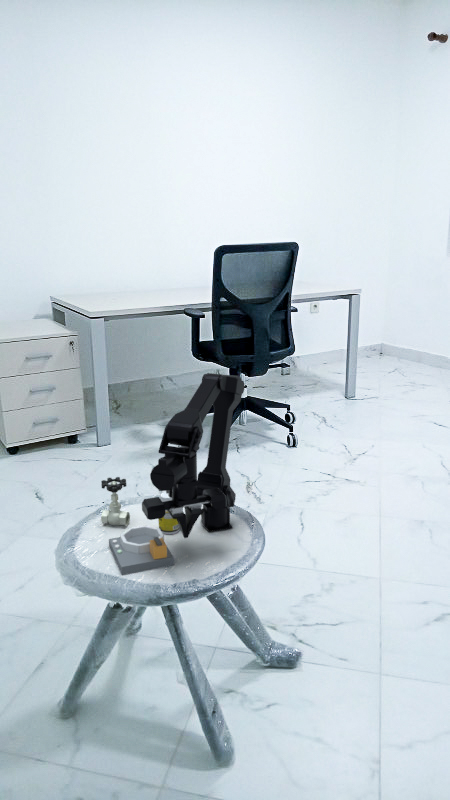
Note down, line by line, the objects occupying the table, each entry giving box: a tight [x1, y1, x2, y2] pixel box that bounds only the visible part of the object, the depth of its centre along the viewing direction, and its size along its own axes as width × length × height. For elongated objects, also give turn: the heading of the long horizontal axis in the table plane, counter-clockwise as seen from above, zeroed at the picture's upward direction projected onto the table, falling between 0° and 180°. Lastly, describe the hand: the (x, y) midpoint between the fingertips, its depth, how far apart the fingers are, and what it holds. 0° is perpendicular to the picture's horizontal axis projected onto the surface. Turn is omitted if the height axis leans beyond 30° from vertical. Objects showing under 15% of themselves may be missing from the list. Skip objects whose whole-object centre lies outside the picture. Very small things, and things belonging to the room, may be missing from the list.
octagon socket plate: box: [108, 525, 175, 576], centre depth 147 cm, size 12×14×4 cm
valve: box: [100, 476, 131, 527], centre depth 161 cm, size 7×7×12 cm
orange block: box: [150, 537, 168, 559], centre depth 143 cm, size 3×4×4 cm
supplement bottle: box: [158, 491, 181, 535], centre depth 159 cm, size 5×5×10 cm
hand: (185, 537), depth 145 cm, fingers closed
